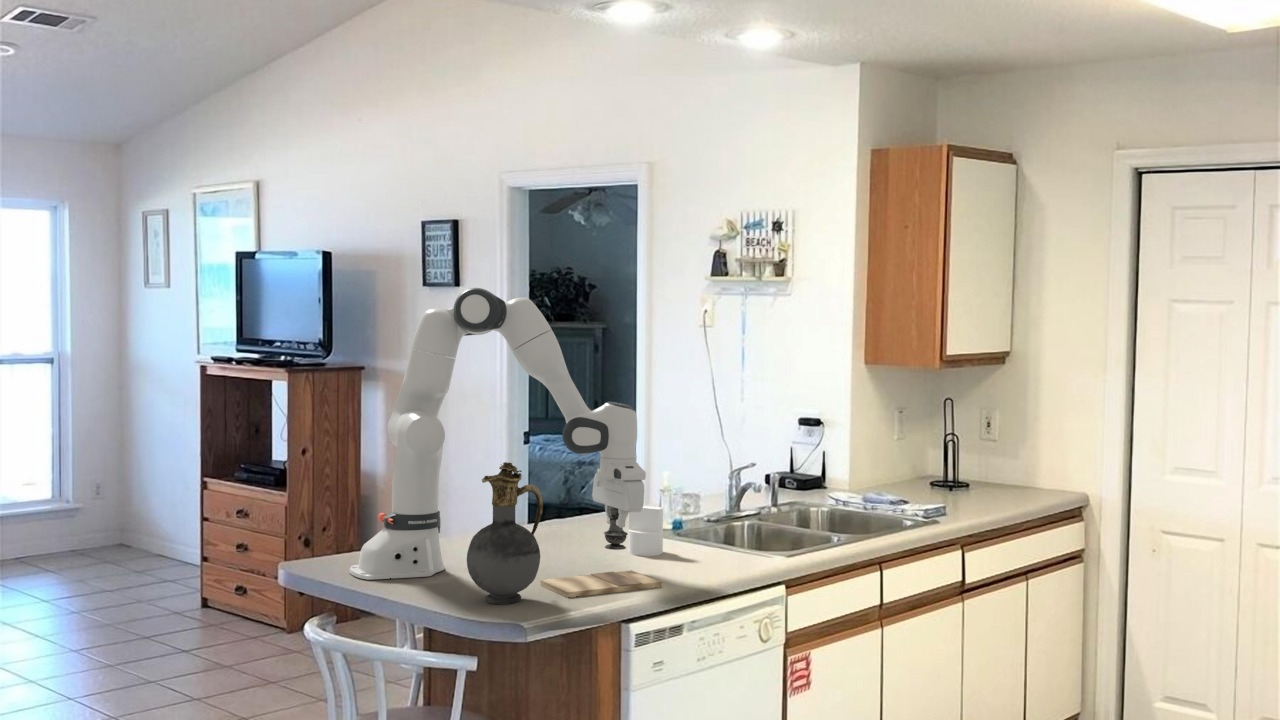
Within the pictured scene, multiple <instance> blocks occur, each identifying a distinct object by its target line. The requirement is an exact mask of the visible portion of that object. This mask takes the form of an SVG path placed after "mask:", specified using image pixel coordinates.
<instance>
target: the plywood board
mask: <svg viewBox="0 0 1280 720" xmlns="http://www.w3.org/2000/svg"><path fill="white" fill-rule="evenodd" d="M540 586H542V587H544V588H546V589H548V590H550V591H552V592H554V593H556V594H559V595H560V596H563V597H565V598H566V599H567V598H568V597H570V598H577V597H576V596H579V597H585V596H586V597H587V596H594V595H595V596H596V595H603V594H613V593H621V592H628V591H629V592H630V591H639V590H638V589H640V590H647V589H646V588H648V589H656V588H655V587H657V588H662V581H660V580H658V579H655V578H653V577H649V576H648V575H645V574H642V573H639V572H637V571H634V570H624V571H606V572H605V571H604V572H599V573H598V572H597V573H590V574H585V575H575V576H567V577H558V578H547V579H540Z"/></svg>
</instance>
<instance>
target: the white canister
mask: <svg viewBox="0 0 1280 720" xmlns="http://www.w3.org/2000/svg"><path fill="white" fill-rule="evenodd" d="M663 543H664V508H663V507H660V506H659V507H658V506H650V505H649V506H648V505H647V506H646V505H643V508H642V510H641V512H628V552H627V553H628V554H629V555H631V554H632V555H633V556H639V557H654V556H655V557H656V556H659V555H660V554H661V555H663V545H664V544H663Z"/></svg>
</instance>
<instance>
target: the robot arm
mask: <svg viewBox="0 0 1280 720" xmlns="http://www.w3.org/2000/svg"><path fill="white" fill-rule="evenodd" d="M492 331H494V332H497V333H499V334H500V335H502V337H503V338H504V340H505V341H506V343H507V344H508V346H509V348H510V349H511V351H512V354H513V355H514V357H515V359H516V360H517V362H518V363H519V365H520V367H521V368H522V369H523V370H524V371H525V372H526V373H527V374H528V375H529V376H530V377H532V378H534V379H536V380H537V381H538V382H540V384H542V385H543V386H544V387H545V388H546V389H547V390H548V391H549V393H550V394H551V396H552V398H553V400H554V401H555V402H556V405H557V406H558V408H559V410H560V411H561V414H562V416H563V417H564V419H565V423H566V424H565V425H564V427H563V429H562V435H561V436H562V438H561V439H562V441H563V443H564V446H565V447H566V449H567V450H569V451H570V452H572V453H574V454H576V455H589V454H591V453H592V454H594V453H599V454H600V457H599V458H600V461H599V467H597V470H596V473H595V474H594V477H593V483H592V485H593V486H592V500H593V502H596V503H599V504H601V505H604V511H605V514H606V523H607V524H609V525H610V518H609V517H610V516H611V507H614V508H617V509H618V513H619V517H618V519H616V526H617V527H620V528H621V527H622V528H625V527H626V520H627V517H629V512H641V510H642V508H643V506H644V504H645V503H644V501H645V483H644V481H645V480H646V475H647V474H646V471H645V469H644V468H642V467H641V466H640V464H639V463H638V462H637V453H636V452H637V451H636V445H637V441H638V417H637V413H636V410H635V409H634V408H633V407H631V405H628V404H626V403H622V402H615V401H605V403H604V404H602V405H601V406H599V407H597V408H595V409H593V410H592V408H590V407H589V406H588V404H587V403H586V400H584V398H583V396H582V394H581V393H580V391H579V389H578V387H577V386H576V384H575V382H574V381H573V379H572V377H571V375H570V373H569V370H568V367H567V365H566V361H565V358H564V355H563V354H564V353H563V352H562V349H561V346H560V344H559V341H558V338H557V337H556V335H555V333H554V331H553V330H552V327H551V326H550V324H549V322H548V321H547V319H546V318H545V316H544V314H543V313H542V312H541V310H540V309H539V308H538V306H537V305H536V304H535V303H534V302H533V300H531V299H530V298H529V297H516V298H515V297H514V298H513V299H510V300H508V301H504V300H503V299H502V298H500V297H499V296H497V295H496V294H494V293H492V292H491V291H489V290H487V289H484V288H481V287H472V288H468V289H465V290H463V291H462V292H461V293H460V294H459V295H458V296H457V297H456V299H455V301H454V305H453V307H451V308H440V307H439V308H438V307H437V308H436V307H435V308H430V309H428V310H425V312H423V313H422V315H421V317H420V319H419V321H418V324H417V327H416V330H415V333H414V335H413V338H412V342H411V346H410V351H409V355H408V358H407V364H406V369H405V372H404V376H403V379H402V384H401V386H400V389H399V391H398V394H397V397H396V400H395V402H394V405H393V409H392V412H391V416H390V418H389V420H388V423H387V434H388V439H389V440H390V442H391V443H392V445H393V446H394V447H396V456H395V457H396V458H395V463H394V471H393V475H392V479H391V486H392V487H391V511H390V512H389V513H387V514H386V513H384V512H380V513H379V514H378V515H377V520H378V521H380V522H381V523H383V528H382V529H381V530H380V531H379V532H377V533H376V534H375V535H374V536H373V537H372V538H370V539H369V540H368V541H367V542H365V543H363V545H362V547H361V548H360V553H359V559H358V564H353V565H351V566H350V567H349V574H350V575H352V576H353V577H356V578H358V579H362V580H367V581H368V580H369V581H370V580H371V581H372V580H387V579H388V580H389V579H390V578H391V579H405V578H406V579H408V578H423V577H426V578H427V577H432V576H433V575H435V574H436V573H439V572H442V571H444V570H445V569H446V567H445V564H444V560H443V555H442V550H441V542H440V541H441V540H440V534H441V524H442V523H441V511H440V510H439V480H440V479H439V478H440V471H441V463H442V458H443V450H444V443H445V439H446V433H445V428H444V425H443V423H442V422H441V420H440V419H439V417H438V416H439V412H440V409H441V406H442V405H443V402H444V400H445V397H446V395H447V393H448V392H449V389H450V385H451V382H452V376H453V374H454V373H453V371H454V367H455V363H456V358H457V353H458V350H459V346H460V343H461V341H462V339H463V337H464V336H478V335H479V336H480V335H485V334H488V333H491V332H492ZM391 579H390V580H391Z"/></svg>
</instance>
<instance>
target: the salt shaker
mask: <svg viewBox="0 0 1280 720" xmlns="http://www.w3.org/2000/svg"><path fill="white" fill-rule="evenodd" d="M618 517H619V513H618V509H617V508H614V507H611V516H610V517H609V518H610V524H609V528H608V530H606V531H604V532H603V534H604V538H605V541H607V543H609V544H606V545H604V549H607V550H613V551H615V550H616V551H618V550H619V551H620V550H625V549H627V547H626V545H624V544H623V543H624V542H625V541H626V539H627V536H628V535H629V532H626V531H625V530H624V527H621V528H620V527H617V526H616V519H618Z"/></svg>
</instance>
